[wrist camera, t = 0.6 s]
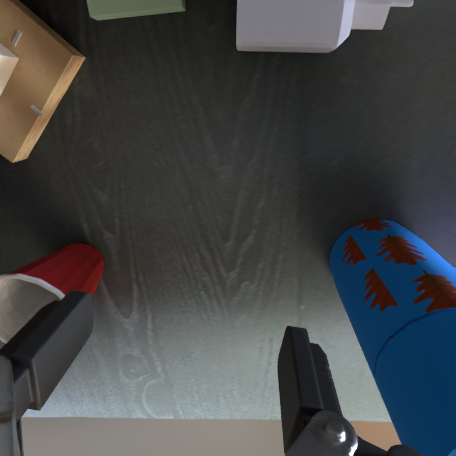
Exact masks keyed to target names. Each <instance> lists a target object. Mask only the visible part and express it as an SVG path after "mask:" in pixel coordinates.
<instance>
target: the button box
mask: <svg viewBox="0 0 456 456" xmlns="http://www.w3.org/2000/svg"><path fill="white" fill-rule="evenodd" d="M87 5H88V10H89V15H90V17H92V18H94V19H96V20H107V19H116V18H126V17H135V16H144V15H153V14H162V13H172V12H181V11H186V5H185V0H87Z"/></svg>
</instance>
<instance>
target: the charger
mask: <svg viewBox="0 0 456 456" xmlns="http://www.w3.org/2000/svg"><path fill="white" fill-rule="evenodd" d="M412 5H413V0H237V25H236V47H237V50H238V51H268V52H308V53H329V52H331V51H333V50H335V49H336V48H337V47H338V46H339V45H340V44H341V43H342V42H343V41H344V40H345V39H346V38H348V36H349V34H350V30H351V29H372V30H382V29H383V26H384V24H385V21H386V18H387V15H388V12H389V9H390V6H398V7H411V6H412Z"/></svg>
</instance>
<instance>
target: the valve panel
mask: <svg viewBox="0 0 456 456" xmlns="http://www.w3.org/2000/svg"><path fill="white" fill-rule="evenodd" d="M0 43H1V44H3V45H4V46H5V47H6V48H7V49H9V50H10V51H11V52H12V53H13V54H15V55H16V56H17V57H18V58H19V60H18V62H17V64H16V66H15V68H14V70H13V72H12V74H11V76H10V78H9V80H8V82H7V84H6V86H5V88H4V90H3V92H2V94H1V96H0V154H1V155H3V156H4V157H5V158H7V159H8V160H9V161H11V162H12V163H14V162H17V161H21V160H24V159H27V158H28V156H29V154H30V152H31V151H32V149H33V147H34V146H35V144H36V142H37V140H38V139H39V137H40V135H41V134H42V132H43V130H44V128H45V127H46V125H47V123H48V121H49V120H50V118H51V116H52V115H53V113H54V111H55V109H56V108H57V106H58V104H59V102H60V101H61V99H62V97H63V96H64V94H65V92H66V90H67V89H68V87H69V85H70V84H71V82H72V80H73V78H74V77H75V75H76V73H77V71H78V70H79V68H80V66H81V65H82V63H83V61H84V59H85V57H84V56H83V55H82V54H80V53H79V52H78V51H77V50H76V49H75V48H73V47H72V46H71V45H70V44H69V43H68V42H67V41H65V40H64V39H63V38H62V37H61V36H60V35H58V34H57V33H56V32H55V31H54V30H53V29H52V28H50V27H49V26H48V25H47V24H46V23H45V22H43V21H42V20H41V19H40V18H39V17H38V16H36V15H35V14H34V13H33V12H32V11H31V10H30V9H28V8H27V7H26V6H25V5H24V4H23V3H21V2H20V1H19V0H0Z"/></svg>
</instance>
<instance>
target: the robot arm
mask: <svg viewBox="0 0 456 456" xmlns="http://www.w3.org/2000/svg"><path fill="white" fill-rule="evenodd" d="M92 328H93V300H92V294H91V293H89V292H83V291H77V290H71V291H69V292H68V293H67V294H66V295H65V296H64V298H63V299H62V300H61V301H57V300H54V301H53V302H51V303H49V304H47V305H45V306H43V307H42V308H41V309H40V310H39V311H38V312H37V313H36V314H35V315H34V316H33V318H31V319H30V320H29V321H28V322H27V323H26V324H25V326H23V327H22V328H21V329H20V330H19V331H18V332H17V333H16V334H15V335H14V336H13V337H12V338H11V339H10V340H9V341H8V342H7V343H6V344H5V345H4V346H3V347H2V348H1V349H0V456H24V451H23V436H22V422H21V417H22V416H23V414H24V413H25V411H26V410H27V409H33V410H39V411H40V410H41V408H42V407H43V405H44V404H45V402H46V401H47V399H48V398H49V396H50V395H51V393H52V392H53V390H54V389H55V387H56V386H57V384H58V383H59V381H60V380H61V379H62V377H63V376H64V374H65V373H66V371H67V370H68V368H69V367H70V365H71V364H72V362H73V361H74V359H75V358H76V356H77V355H78V353H79V352H80V350H81V349H82V347H83V346H84V344H85V343H86V341H87V340H88V338H89V337H90V334H91V332H92ZM278 381H279V393H280V406H281V418H282V429H283V442H284V453H285V454H286V455H285V456H423V455H422V454H420V453H419V452H418V451H416V450H414V449H413V448H410V447H408V446H405V445H394V446H392V447H390V449H389V450H388V452H387V451H385V450H383V449H381V448H379V447H377V446H375V445H373V444H371V443H369V442H367V441H365V440H363V439H362V438H360V437H359V436H357V435H356V432H355V430H354V428H353V427H352V425H351V424H350V423H349V422H348V421H347V420H346V419H345V418H344V417H343V415H342V412H341V408H340V404H339V401H338V397H337V393H336V389H335V386H334V382H333V378H332V375H331V371H330V369H329V364H328V360H327V356H326V354H325V353H324V351H323V350H322V349H321V347H320V346H319V345H318V344H314V343H310V342H309V338H308V333H307V330H306V329H304V328H298V327H292V326H287V327H286V330H285V334H284V338H283V341H282V345H281V349H280V352H279V357H278Z"/></svg>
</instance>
